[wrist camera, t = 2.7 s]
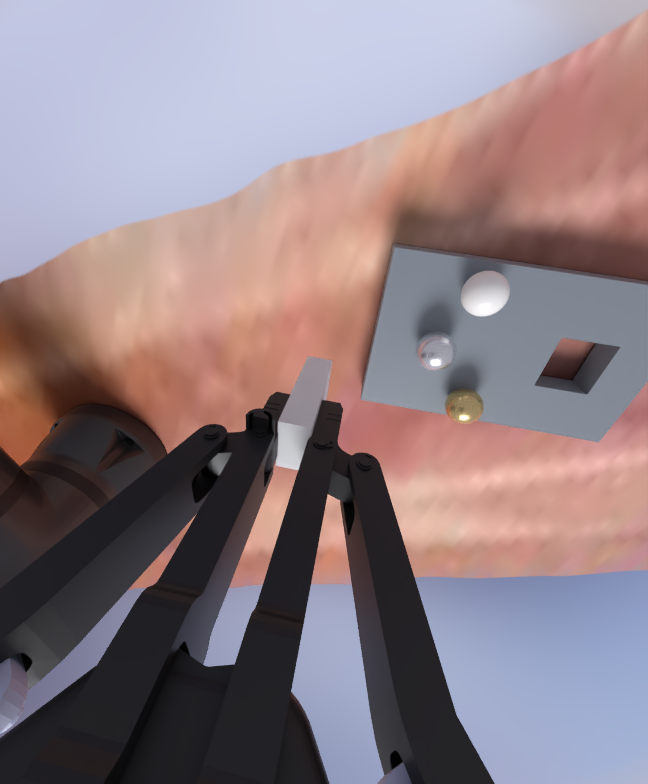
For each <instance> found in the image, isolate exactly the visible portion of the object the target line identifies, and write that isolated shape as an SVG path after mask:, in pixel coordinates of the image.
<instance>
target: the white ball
mask: <svg viewBox="0 0 648 784" xmlns="http://www.w3.org/2000/svg"><path fill="white" fill-rule="evenodd" d="M509 295H510V286H509V283H508V281H507V279H506V278H505V277H504V276H503V275H502V274H500V273H498V272H495V271H482V272H479V273H476V274H475V275H473V276H472V277H470V278H469V279H468V280H467V281H466V283H465V284H464V286H463V288H462V291H461V303H462V305H463V307H464V309H465V310H466V311H467V312H469V313H470V314H472V315H475V316H489V315H492V314H494V313H496V312H498V311H499V310H500V309H502V308H503V306H504V305H505V304H506V302H507V301H508V298H509Z"/></svg>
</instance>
